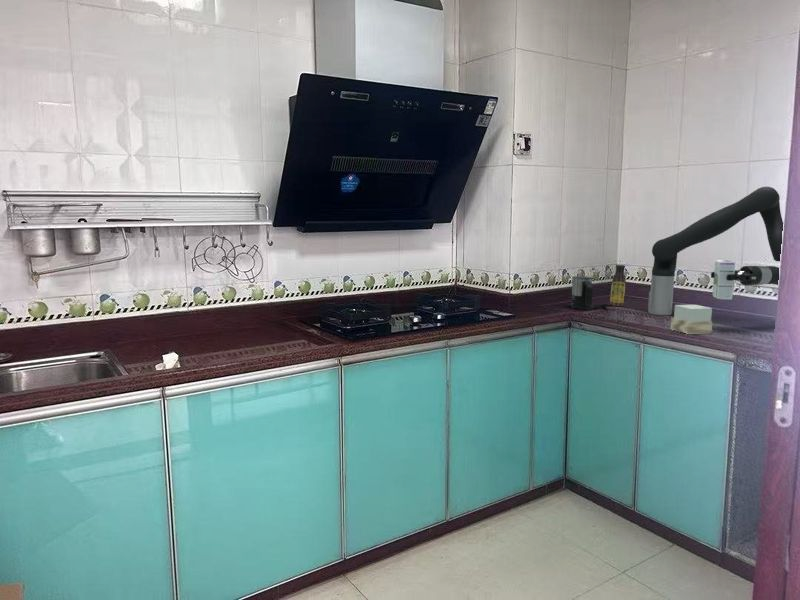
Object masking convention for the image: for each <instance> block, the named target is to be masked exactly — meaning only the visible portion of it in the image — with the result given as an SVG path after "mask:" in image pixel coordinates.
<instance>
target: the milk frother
mask: <svg viewBox="0 0 800 600" xmlns="http://www.w3.org/2000/svg"><path fill="white" fill-rule="evenodd" d="M592 280H593V277H592V276H583V275H578V276H577V275H574V276H572V281H571V282H572V283H571V284H572V285H571V304H570V308H571V307H572V308H571V309H574V308H577V309H576V310H590V309H589V308H591V309H592V308H595V307H597V308H601V309H602V308H603V309H606V308H607V307H609V306H611V305H610V302H602V303H597V304H594V305H592V304H593V294H594V285H593V283H592V282H593V281H592Z"/></svg>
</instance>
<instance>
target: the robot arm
mask: <svg viewBox="0 0 800 600" xmlns="http://www.w3.org/2000/svg"><path fill="white" fill-rule="evenodd" d="M780 199H781V198H780V194H779V192H778V190H776V189H775V188H774V187H771V186H762V187H758V188H757V189H755V190H753V191H752V192H751V193H749V194H747V196H746V195H745V196H744V197H743V198H741V199H739V200H738V201H736V202H734V203H732V204H729V205H728V206H727V205H726V206H725V207H723V208H721V209H718V210H716V211H714V212H712V213H710V214H708V215H706V216H704V217H702V218H700V219H699V220H697V221H695V222H693V223H691V224H690V225H688V226H687V227H686V228H684V229H682V230H681V231H679V232H677V233H675V234H673V235H672V234H671V235H670V236H667V237H665V238H662V239H658V240H657V241H656V242H655V243H654V244H653V246H652V248H651V253H652V256H653V257H654V258H653V261H654V262H653V266H652V268H651V269H652V270H651V277H650V278H651V279H650V280H651V282H650V283H651V284H650V291H648V301H647V302H648V303H647V304H648V306H647V312H648V314H650V315H654V316H671V315H672V313H673V312H672V311H673V302H674V301H673V300H674V299H673V298H674V286H675V285H674V284H675V273H676V269H677V259H678V253H680V252H681V251H683V250H685V249H687V248H689V247H691V246H695V245H697V244H700V243H703V242H705V241H708V240H710V239H713V238H715V237H717V236H719V235H721V234H723V233H725V232H727V231H728V230H729V229H731V228H733V227H734V226H736V225H737V224H738V223H739V222H741V221H743V220H745V219H747V218H749V217H750V216H752V215H755V214H758V213H759V214H760V216H761V218H762V221H763V223H764V226H765V231H766V237H767V240H768V245H769V248H770V251H771V255H772V259H773V261H775V262H781V261H780V254H781V244H782V231H783V224H784V221H783V217H782V213H781V204H780V203H781V202H780ZM779 268H780V267H778V266H774V265H744V266H742V267H740V269H739V270H738V269H735V272H734V274H728V275H727V280H728V281H731V280H734V282H739V283H740V284H742V285H743V286H763V285H777V286H779V285H778V280H779ZM710 278H712V279H714V271H711V272H710Z"/></svg>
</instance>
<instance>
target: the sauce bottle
mask: <svg viewBox="0 0 800 600" xmlns="http://www.w3.org/2000/svg"><path fill="white" fill-rule="evenodd" d="M625 268H626V265H625V264H616V265H615V274H614V275H613V277H612V280H611V281H612V282H611V288H610V297H609V298H610V299H609V303H610V305H609V306H613V307H622V306H623V305H624V300H625V293H626V280H627V279H626V276H625Z"/></svg>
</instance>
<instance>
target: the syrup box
mask: <svg viewBox="0 0 800 600" xmlns="http://www.w3.org/2000/svg"><path fill="white" fill-rule="evenodd" d="M713 269H714V271H713V272H714V278H713V282H712V294H711V295H712V298H715V299H717V300H729V301H730V300H733V295H734V282H735V281H734V280H731V281H728V280H727V275H728V274H734V272H735V270H736V261H733V260H729V259H716V260H714V268H713Z"/></svg>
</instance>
